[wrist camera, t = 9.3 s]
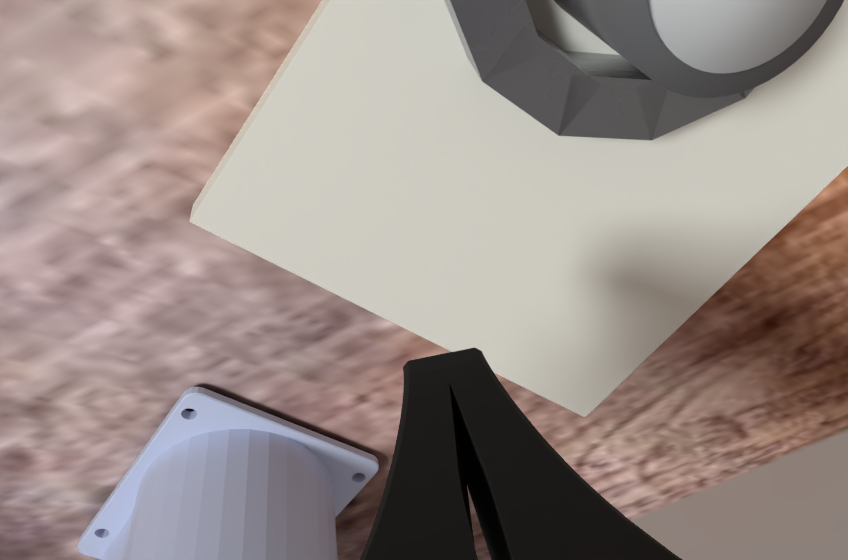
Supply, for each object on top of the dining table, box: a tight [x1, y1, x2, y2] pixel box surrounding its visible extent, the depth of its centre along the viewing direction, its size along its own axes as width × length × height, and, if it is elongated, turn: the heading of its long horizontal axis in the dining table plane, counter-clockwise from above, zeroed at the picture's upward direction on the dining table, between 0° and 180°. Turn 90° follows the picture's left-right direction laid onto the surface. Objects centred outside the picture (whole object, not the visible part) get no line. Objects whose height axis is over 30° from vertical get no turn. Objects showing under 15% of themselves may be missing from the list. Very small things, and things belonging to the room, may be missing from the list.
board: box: [189, 0, 848, 417], centre depth 21 cm, size 20×16×1 cm
